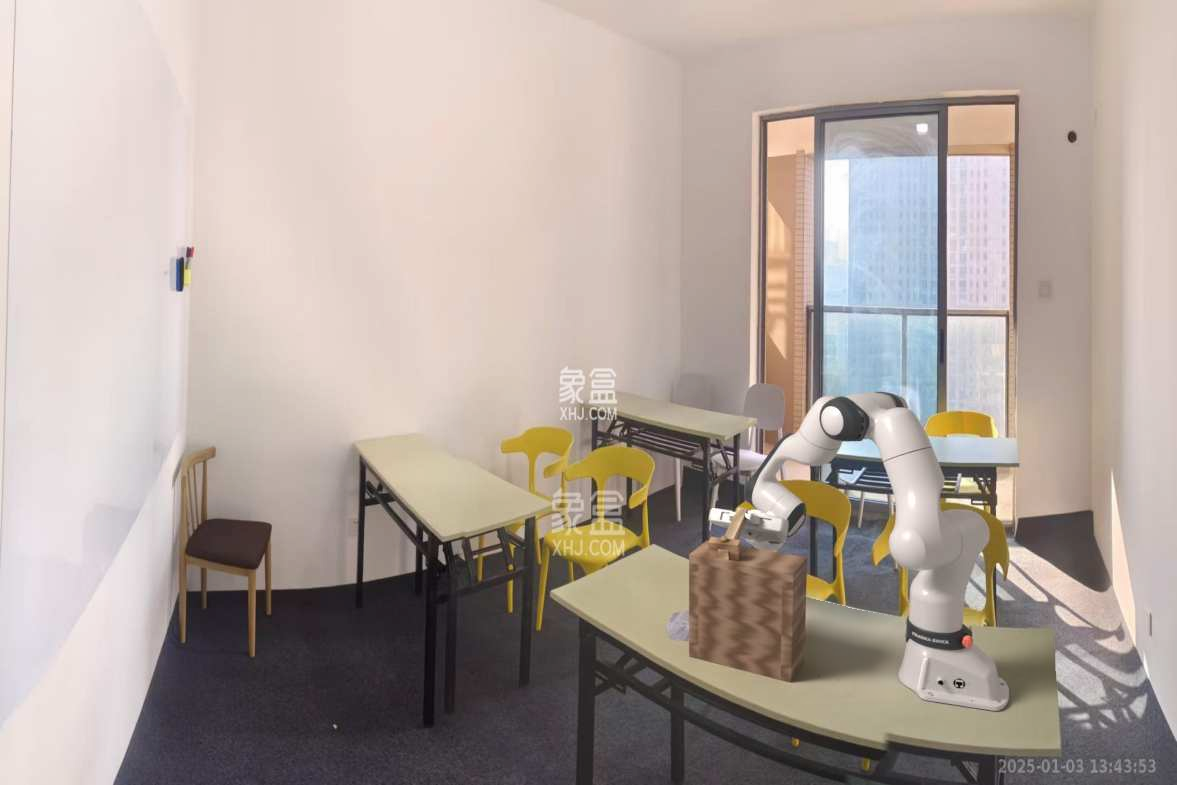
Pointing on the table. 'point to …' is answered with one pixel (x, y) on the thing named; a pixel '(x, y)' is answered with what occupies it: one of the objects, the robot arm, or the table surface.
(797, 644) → the wood grain box
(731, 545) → the marking gauge
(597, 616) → the table surface
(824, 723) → the table surface
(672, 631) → the lavender lumpy chunk
